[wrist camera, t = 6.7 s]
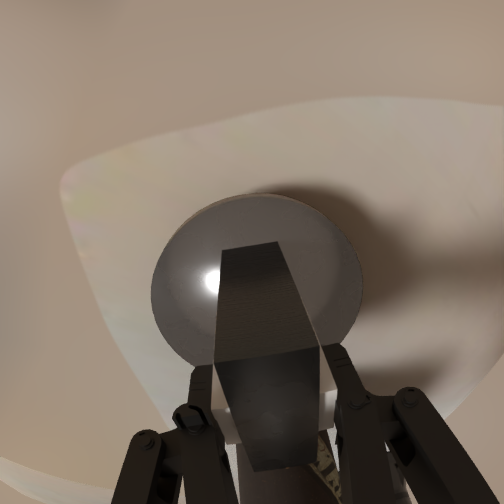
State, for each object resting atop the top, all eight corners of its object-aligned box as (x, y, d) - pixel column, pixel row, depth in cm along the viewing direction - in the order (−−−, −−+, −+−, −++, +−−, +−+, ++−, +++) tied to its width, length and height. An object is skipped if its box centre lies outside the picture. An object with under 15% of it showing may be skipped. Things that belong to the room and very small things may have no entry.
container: (332, 388, 27) (387, 558, 9) (272, 427, 29) (294, 580, 11) (275, 355, 25) (318, 581, 6) (213, 401, 27) (213, 586, 8)
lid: (351, 179, 16) (470, 236, 7) (350, 349, 21) (399, 453, 12) (132, 215, 16) (37, 305, 7) (186, 376, 21) (172, 489, 12)
